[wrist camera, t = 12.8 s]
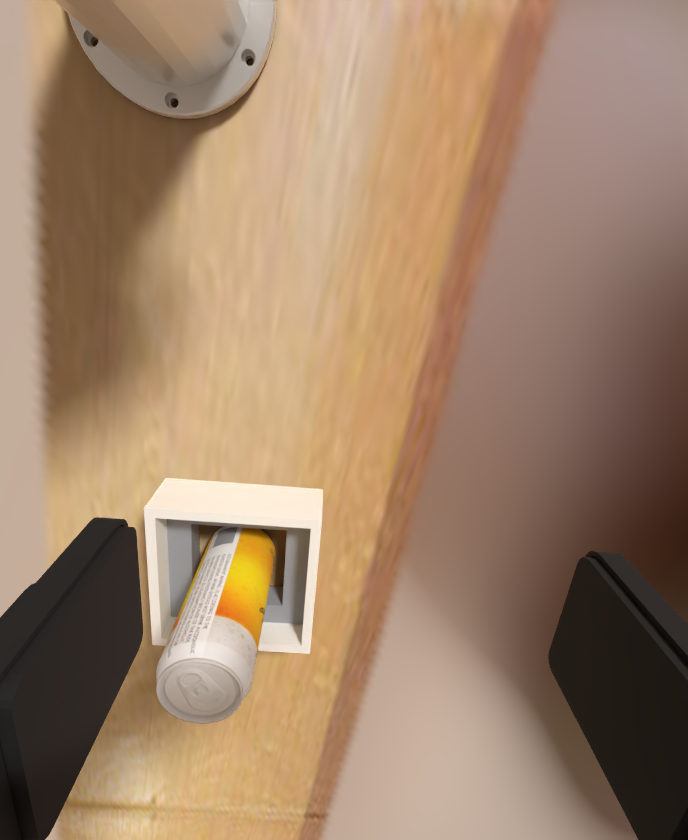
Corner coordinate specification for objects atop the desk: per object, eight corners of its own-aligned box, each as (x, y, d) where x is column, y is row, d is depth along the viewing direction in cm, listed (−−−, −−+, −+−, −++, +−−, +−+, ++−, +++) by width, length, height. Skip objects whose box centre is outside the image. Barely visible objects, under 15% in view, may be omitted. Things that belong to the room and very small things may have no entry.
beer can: (230, 582, 44) (183, 739, 30) (197, 533, 42) (129, 677, 28) (287, 559, 43) (266, 709, 29) (256, 508, 41) (217, 643, 27)
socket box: (165, 477, 40) (143, 508, 35) (323, 489, 41) (321, 520, 36) (171, 603, 45) (152, 645, 40) (312, 611, 46) (309, 653, 41)
